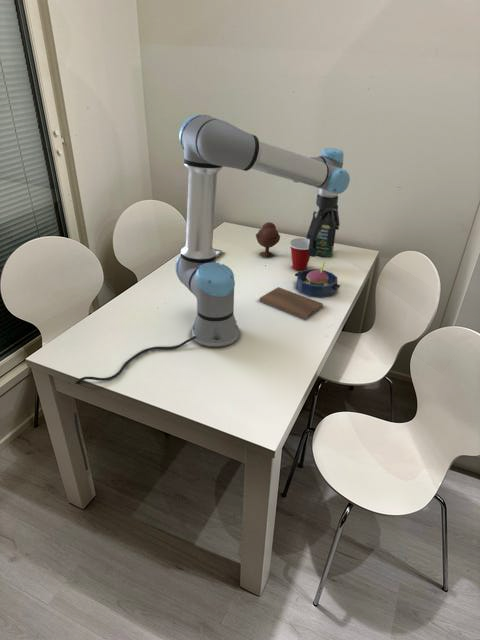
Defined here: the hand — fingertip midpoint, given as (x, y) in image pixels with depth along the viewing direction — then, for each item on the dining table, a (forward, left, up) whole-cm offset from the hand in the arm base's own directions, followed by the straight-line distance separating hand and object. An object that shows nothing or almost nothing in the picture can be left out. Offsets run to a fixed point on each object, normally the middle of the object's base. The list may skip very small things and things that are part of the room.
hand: (321, 250), depth 173 cm
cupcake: (0, 0, -16) cm, 16 cm away
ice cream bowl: (+13, +34, -16) cm, 40 cm away
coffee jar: (+32, +16, -16) cm, 39 cm away
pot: (0, 0, -16) cm, 16 cm away
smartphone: (-7, +52, -16) cm, 55 cm away
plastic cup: (+11, +15, -16) cm, 24 cm away
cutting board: (-18, 0, -16) cm, 24 cm away
